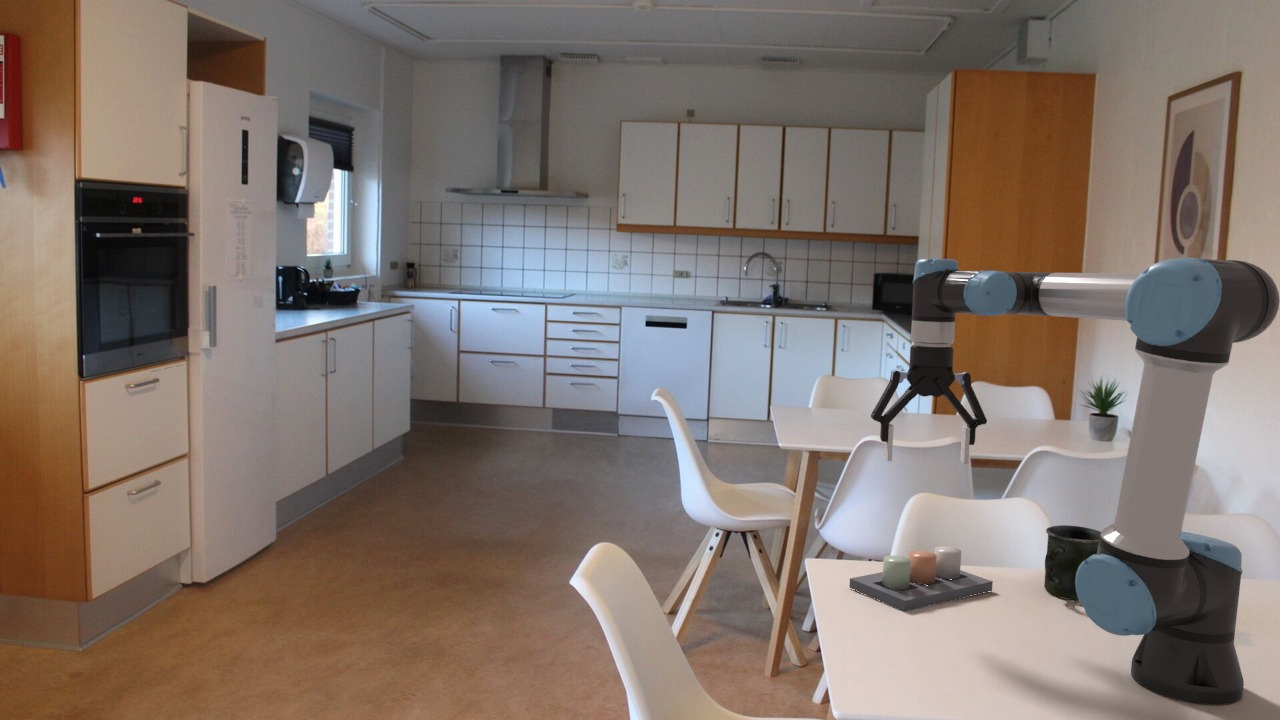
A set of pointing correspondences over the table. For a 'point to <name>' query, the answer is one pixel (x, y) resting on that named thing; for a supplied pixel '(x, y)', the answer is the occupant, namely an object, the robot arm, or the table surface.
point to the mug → (1067, 557)
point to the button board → (921, 590)
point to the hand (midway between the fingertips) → (926, 461)
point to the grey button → (948, 562)
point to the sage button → (896, 572)
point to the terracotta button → (922, 567)
